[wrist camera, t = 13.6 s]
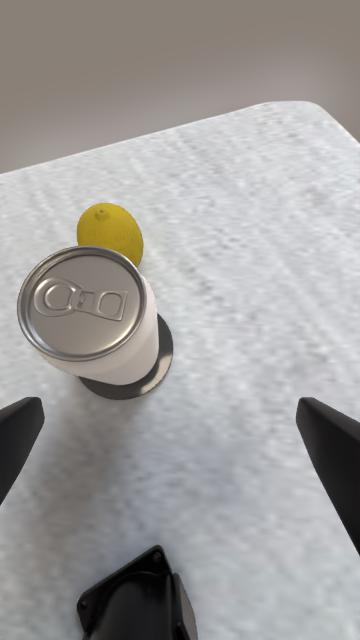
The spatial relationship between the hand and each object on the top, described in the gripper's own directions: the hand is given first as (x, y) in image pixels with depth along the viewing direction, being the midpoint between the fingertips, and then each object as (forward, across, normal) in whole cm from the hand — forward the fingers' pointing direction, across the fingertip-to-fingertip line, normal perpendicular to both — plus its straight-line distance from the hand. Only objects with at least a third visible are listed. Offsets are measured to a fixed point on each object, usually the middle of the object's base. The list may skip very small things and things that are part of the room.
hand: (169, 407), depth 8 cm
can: (+13, +5, +4) cm, 15 cm away
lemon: (+19, +6, -3) cm, 20 cm away
